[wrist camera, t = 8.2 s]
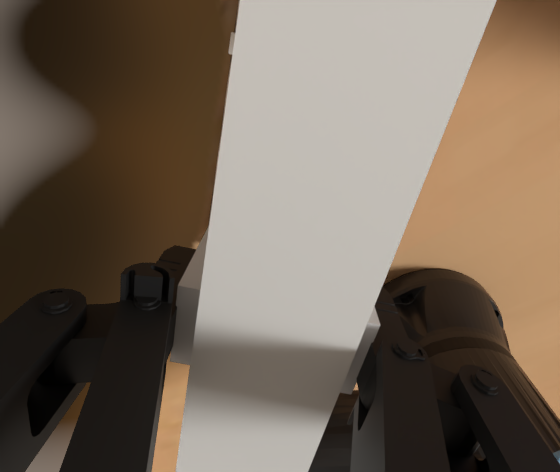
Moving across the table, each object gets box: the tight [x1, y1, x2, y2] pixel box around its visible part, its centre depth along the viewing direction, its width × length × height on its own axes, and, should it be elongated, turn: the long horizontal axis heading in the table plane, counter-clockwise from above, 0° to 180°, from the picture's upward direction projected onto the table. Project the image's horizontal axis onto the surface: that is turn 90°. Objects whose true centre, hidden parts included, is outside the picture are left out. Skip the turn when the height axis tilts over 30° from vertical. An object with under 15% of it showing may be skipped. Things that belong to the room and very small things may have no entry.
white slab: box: [176, 0, 497, 472], centre depth 12 cm, size 20×4×5 cm, turn 168°
